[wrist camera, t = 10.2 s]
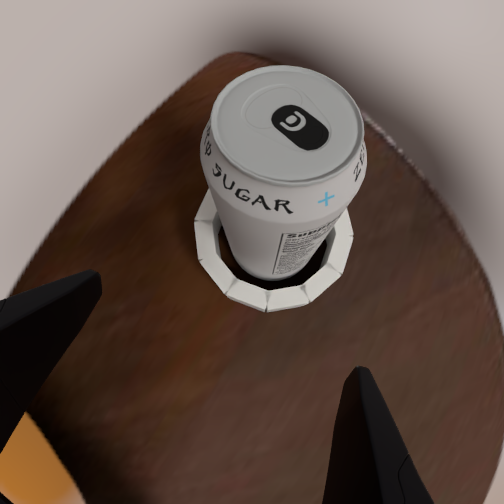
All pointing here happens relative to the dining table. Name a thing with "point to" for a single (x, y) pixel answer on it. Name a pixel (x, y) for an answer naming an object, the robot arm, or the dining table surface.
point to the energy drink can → (282, 165)
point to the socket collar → (259, 297)
